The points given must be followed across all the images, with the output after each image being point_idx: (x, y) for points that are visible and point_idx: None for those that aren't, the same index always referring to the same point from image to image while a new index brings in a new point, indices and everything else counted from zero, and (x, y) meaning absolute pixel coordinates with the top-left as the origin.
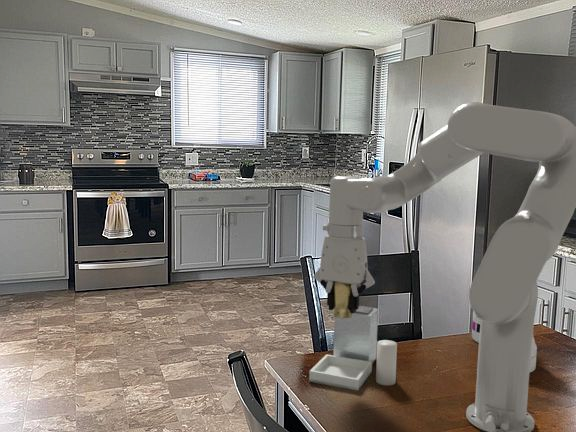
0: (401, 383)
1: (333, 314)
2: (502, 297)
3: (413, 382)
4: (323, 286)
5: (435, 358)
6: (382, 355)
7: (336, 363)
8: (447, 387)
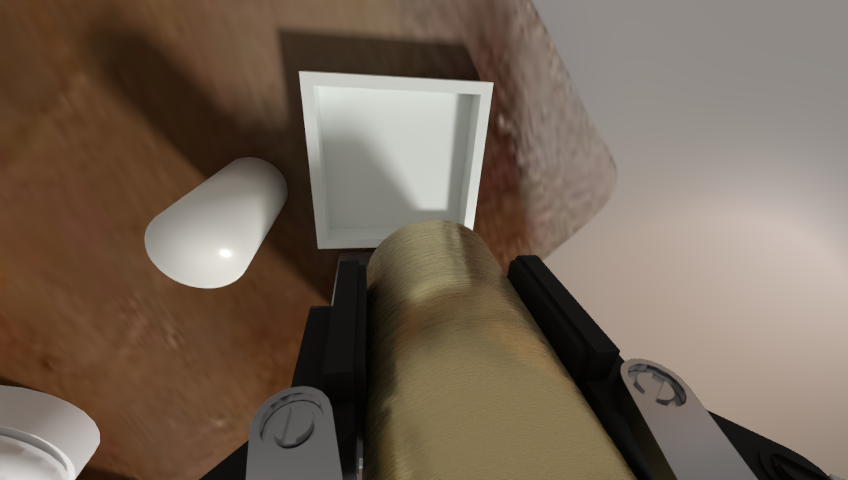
0: None
1: (487, 247)
2: None
3: None
4: (734, 426)
5: (202, 381)
6: (217, 192)
7: None
8: (55, 225)
